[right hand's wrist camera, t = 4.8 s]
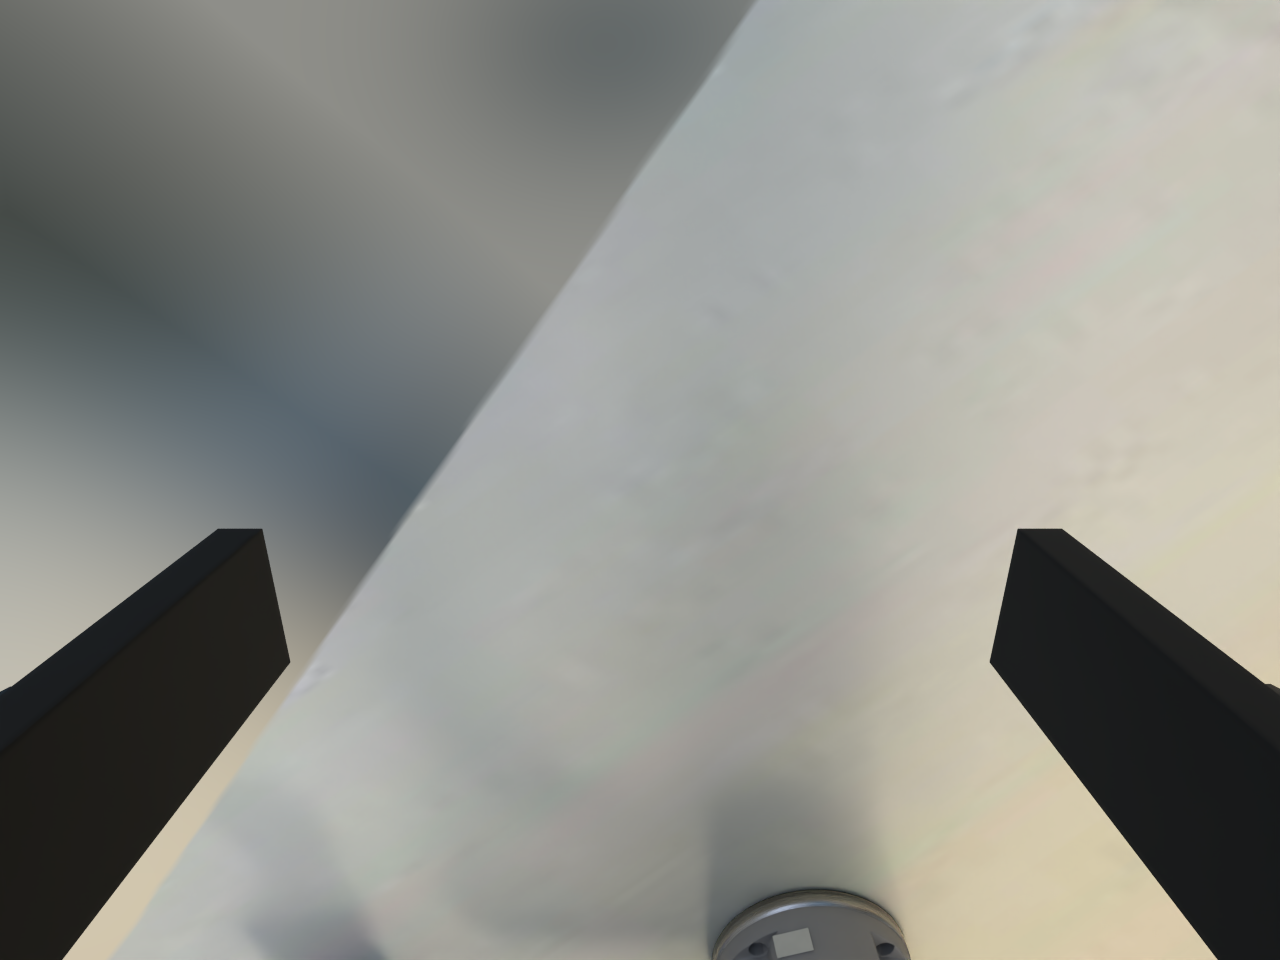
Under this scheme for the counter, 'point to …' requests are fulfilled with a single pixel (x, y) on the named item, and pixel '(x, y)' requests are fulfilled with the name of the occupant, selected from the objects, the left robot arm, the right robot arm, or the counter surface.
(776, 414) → the counter surface
